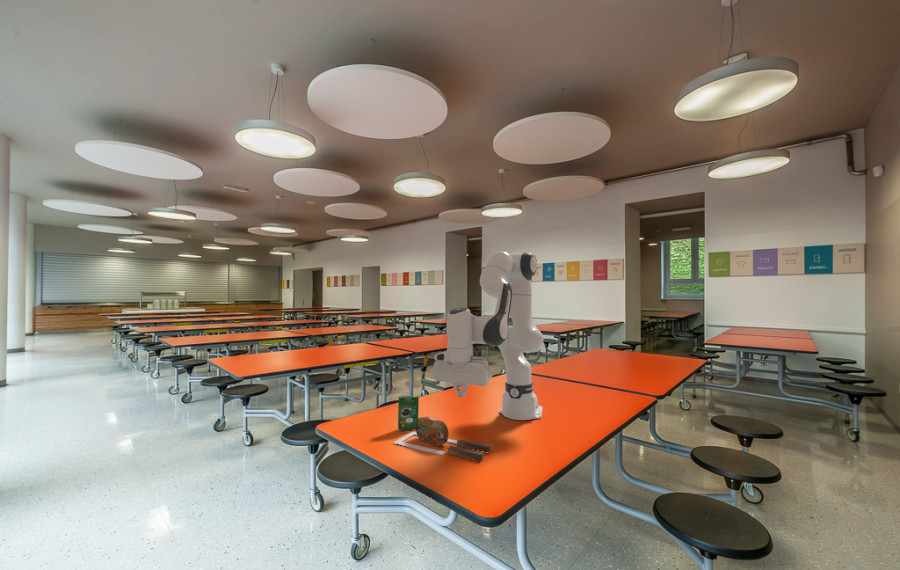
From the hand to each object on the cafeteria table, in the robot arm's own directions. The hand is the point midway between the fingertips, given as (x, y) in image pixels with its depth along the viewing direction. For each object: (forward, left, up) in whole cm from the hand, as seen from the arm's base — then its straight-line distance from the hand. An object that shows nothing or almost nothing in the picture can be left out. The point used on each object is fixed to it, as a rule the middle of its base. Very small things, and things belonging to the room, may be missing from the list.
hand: (461, 396), depth 118 cm
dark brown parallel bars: (0, +3, -18) cm, 18 cm away
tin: (-1, -13, -19) cm, 23 cm away
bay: (0, -14, -18) cm, 23 cm away
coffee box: (-8, -28, -18) cm, 35 cm away
